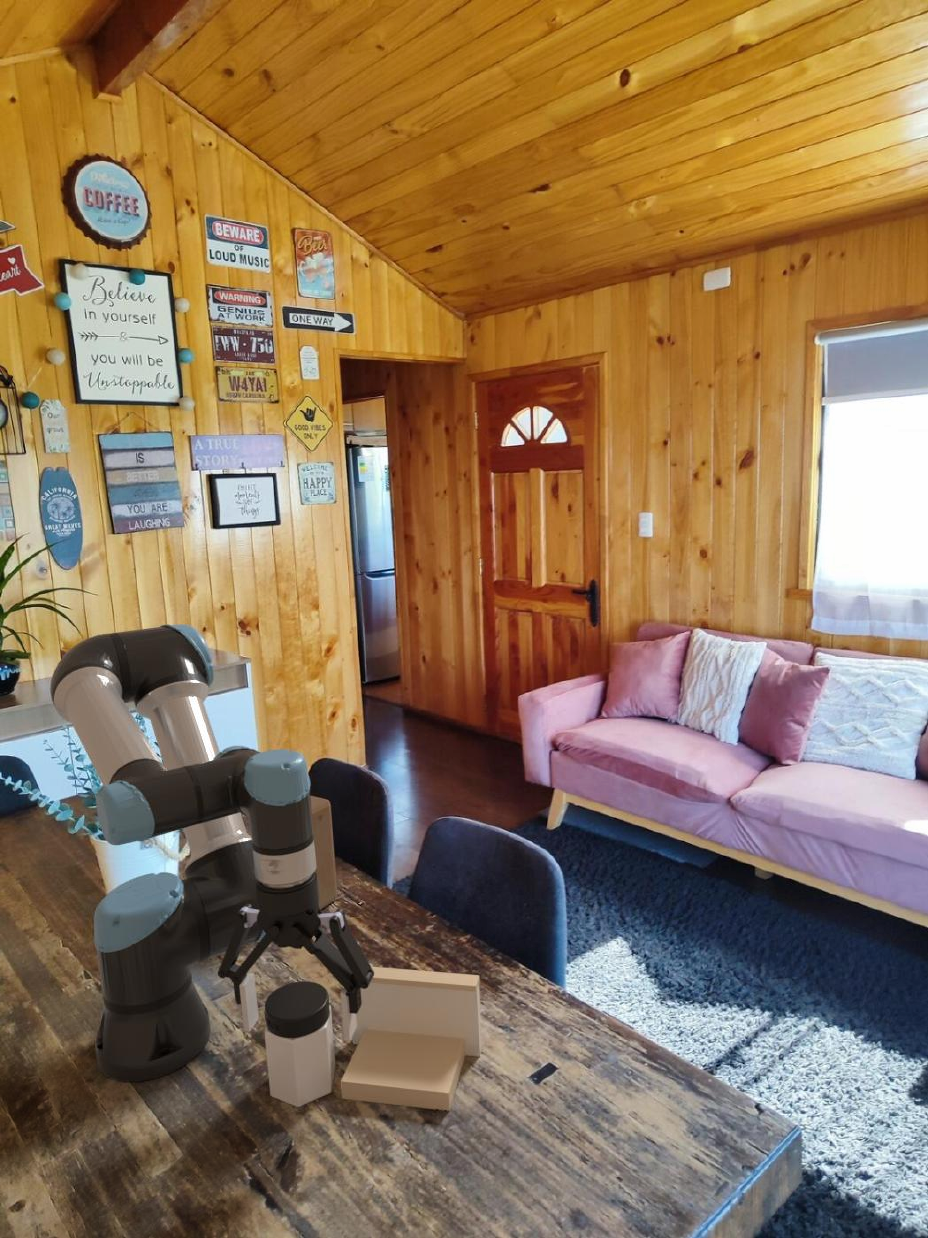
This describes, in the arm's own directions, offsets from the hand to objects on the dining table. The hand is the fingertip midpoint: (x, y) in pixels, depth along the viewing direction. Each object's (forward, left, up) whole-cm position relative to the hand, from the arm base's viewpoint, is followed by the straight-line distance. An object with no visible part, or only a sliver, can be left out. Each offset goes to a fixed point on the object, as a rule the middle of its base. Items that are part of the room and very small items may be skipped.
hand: (300, 1029), depth 106 cm
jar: (0, 0, -8) cm, 8 cm away
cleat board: (+13, +4, -8) cm, 16 cm away
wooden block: (-18, +43, -8) cm, 48 cm away
